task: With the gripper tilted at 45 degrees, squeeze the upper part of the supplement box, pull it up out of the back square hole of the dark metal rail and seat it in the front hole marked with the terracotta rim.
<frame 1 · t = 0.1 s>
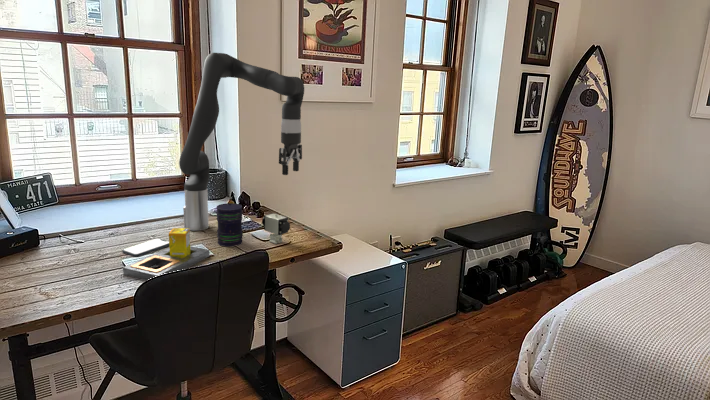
hand: (290, 172, 186), 29 cm above the table, tool pointing down, fingers open, 8 cm apart
supplement box: (180, 259, 174), resting in hole rail
phone case: (147, 250, 182), on the table
hole rail: (168, 264, 168), on the table
pneumatic valve: (276, 242, 196), on the table
storage jar: (230, 242, 193), on the table
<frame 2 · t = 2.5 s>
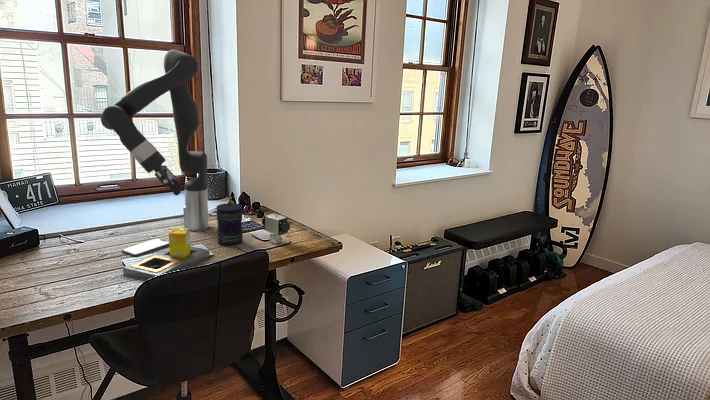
hand: (180, 191, 172), 24 cm above the table, tool tilted 40°, fingers open, 8 cm apart
nothing on the table moved.
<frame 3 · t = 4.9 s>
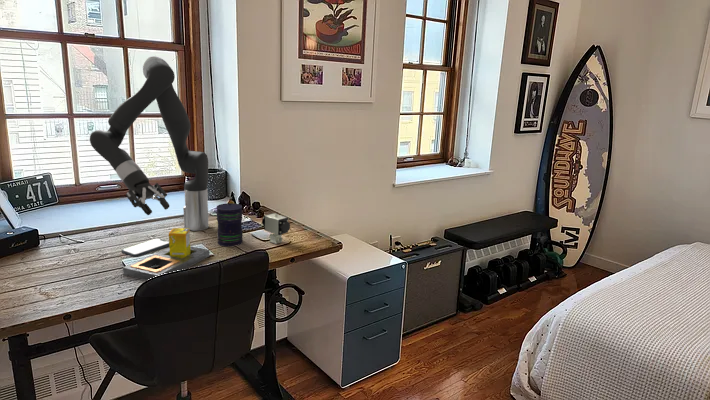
hand: (159, 210, 172), 17 cm above the table, tool tilted 45°, fingers open, 8 cm apart
nothing on the table moved.
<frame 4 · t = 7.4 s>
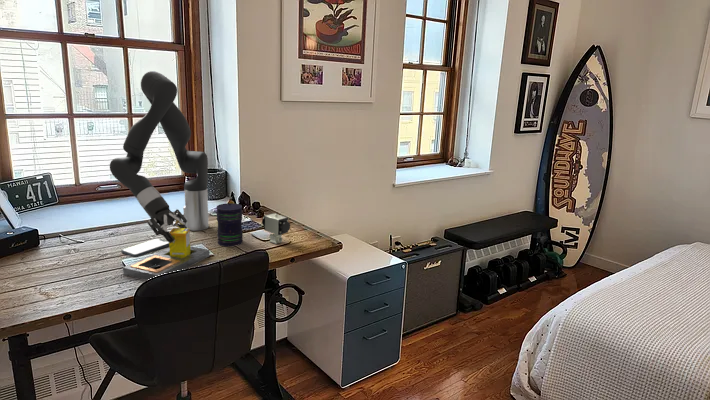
hand: (180, 238, 171), 8 cm above the table, tool tilted 45°, fingers closed on supplement box, 7 cm apart
supplement box: (180, 259, 174), resting in hole rail, touching gripper
everything else where it was.
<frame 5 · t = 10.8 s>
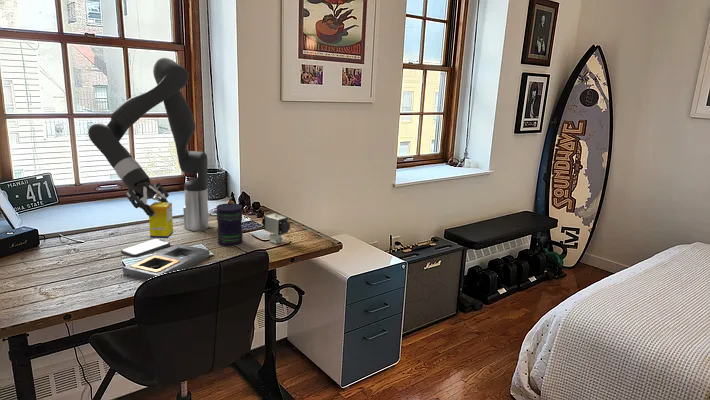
hand: (161, 212, 160), 20 cm above the table, tool tilted 45°, fingers closed on supplement box, 7 cm apart
supplement box: (161, 236, 162), point 12 cm above the table, touching gripper
everything else where it was.
when the fingers open (9 cm above the table, at t = 14.3 s): supplement box drops 1 cm, resting in hole rail.
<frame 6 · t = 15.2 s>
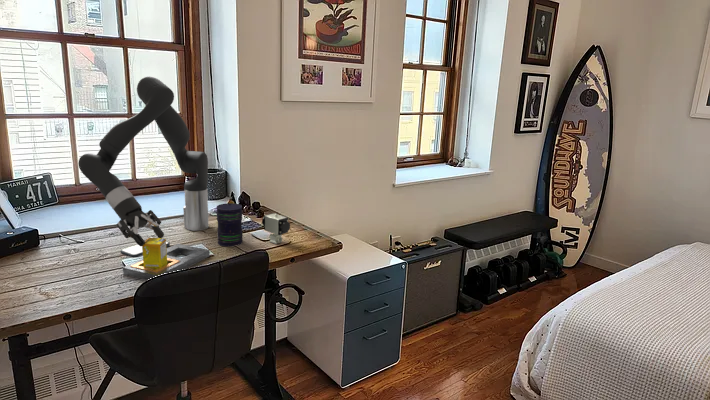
hand: (152, 240, 160), 11 cm above the table, tool tilted 45°, fingers open, 8 cm apart
supplement box: (156, 271, 163), resting in hole rail, touching gripper
everything else where it was.
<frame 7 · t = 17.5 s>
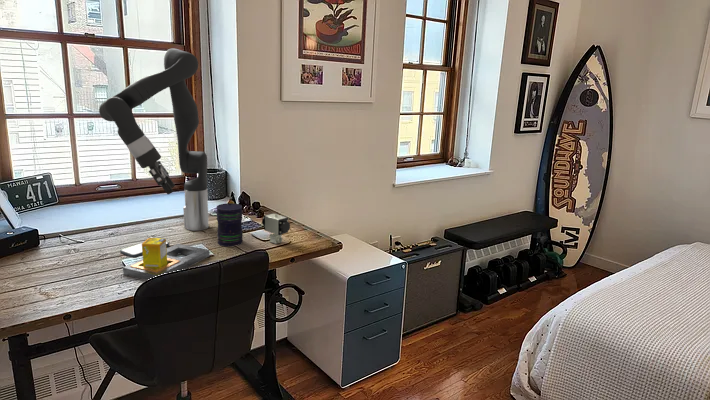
hand: (171, 190, 172), 24 cm above the table, tool tilted 30°, fingers open, 8 cm apart
supplement box: (155, 271, 163), resting in hole rail
everything else where it was.
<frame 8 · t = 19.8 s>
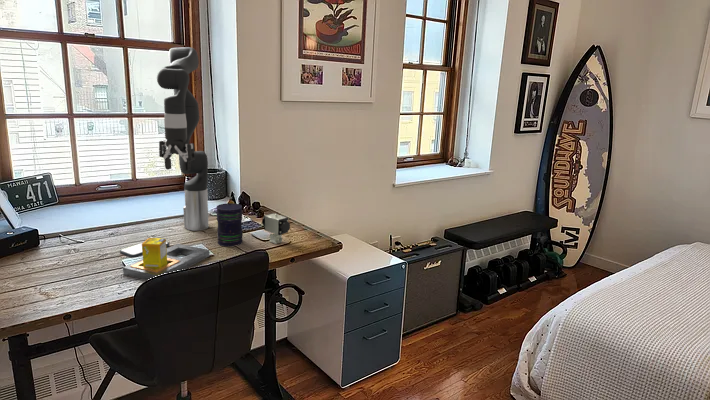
hand: (177, 170, 178), 30 cm above the table, tool pointing down, fingers open, 8 cm apart
nothing on the table moved.
at the end: supplement box 0.2 cm from the target spot on the hole rail, point 0.0 cm above the hole rail's base; supplement box tilted 0°; the gripper is holding nothing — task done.
